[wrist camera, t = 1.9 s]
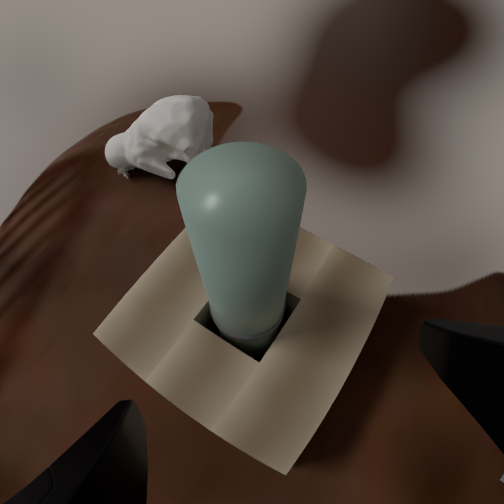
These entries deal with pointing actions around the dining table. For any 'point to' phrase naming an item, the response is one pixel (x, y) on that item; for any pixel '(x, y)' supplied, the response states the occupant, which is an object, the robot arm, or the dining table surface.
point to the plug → (243, 235)
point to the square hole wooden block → (238, 363)
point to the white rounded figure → (163, 136)
